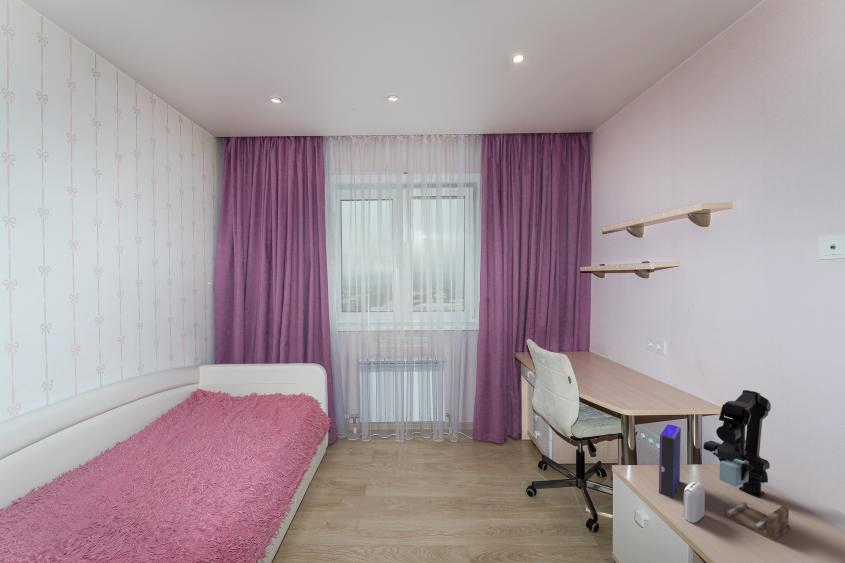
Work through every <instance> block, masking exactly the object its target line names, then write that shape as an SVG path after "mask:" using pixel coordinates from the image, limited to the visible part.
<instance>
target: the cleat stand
mask: <svg viewBox="0 0 845 563" xmlns="http://www.w3.org/2000/svg"><path fill="white" fill-rule="evenodd" d="M722 514H723V515H722V516H723V517H725V518H727V519H729V520H731V521H733V522H735V523H737V524H738V525H741V526H743V527H745V528H747V529H749V530H750V531H753V532H755V533H757V534H759V535H761V536H763V537H765V538H767V539H769V540H771V541H776V540H777V539H779V538H780V537H781V536H782V535H784V534H785V533H787V531H789V530H790V529H791V525H789V507H787V506H785V505H782V506H780V507H779V508H777V509H775V510H774V511H772V512H771V513H769V514H765V513H763V512H761V511H759V510H756V509H754V508H751V507H749V506H748V502H746V501H743V502H740V503H739V504H737V505H735V506H734V507H731V508H730V509H728V510H726V511H724V512H723V513H722Z"/></svg>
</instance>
